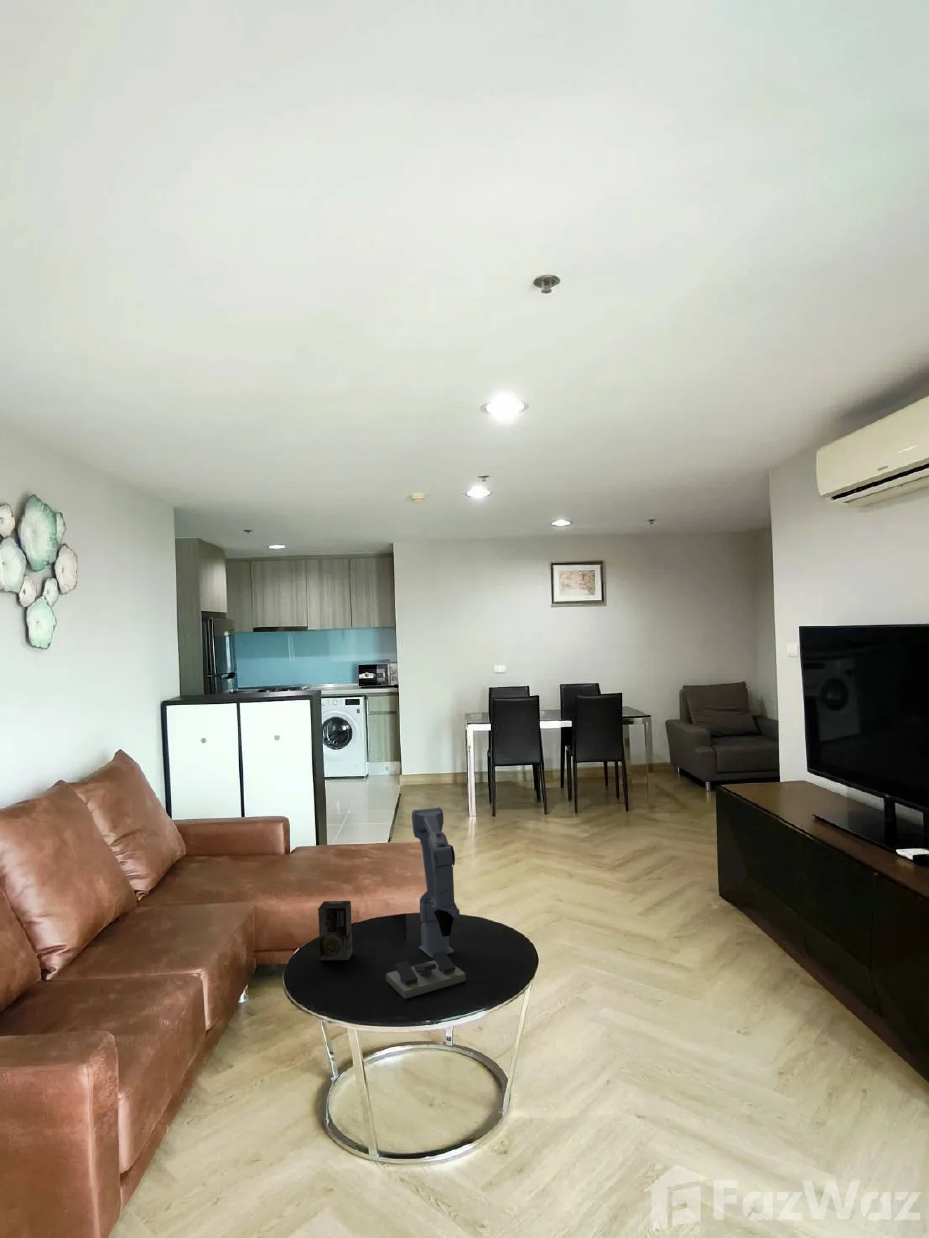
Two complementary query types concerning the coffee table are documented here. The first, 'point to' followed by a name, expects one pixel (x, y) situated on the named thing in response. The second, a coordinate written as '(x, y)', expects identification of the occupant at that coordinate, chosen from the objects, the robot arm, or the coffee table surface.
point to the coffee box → (335, 930)
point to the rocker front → (406, 972)
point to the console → (425, 981)
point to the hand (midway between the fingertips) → (446, 935)
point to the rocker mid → (425, 967)
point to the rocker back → (444, 962)
